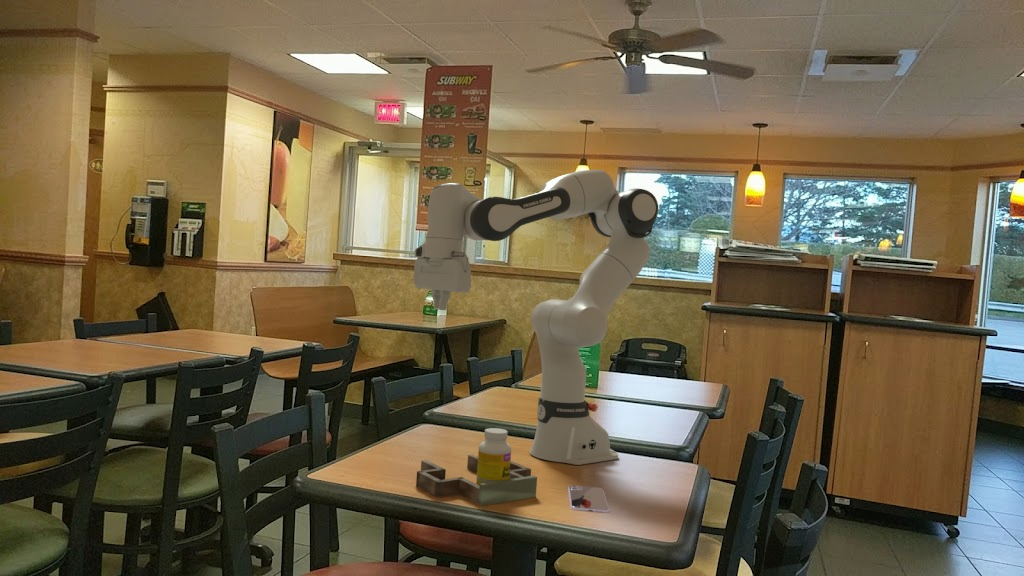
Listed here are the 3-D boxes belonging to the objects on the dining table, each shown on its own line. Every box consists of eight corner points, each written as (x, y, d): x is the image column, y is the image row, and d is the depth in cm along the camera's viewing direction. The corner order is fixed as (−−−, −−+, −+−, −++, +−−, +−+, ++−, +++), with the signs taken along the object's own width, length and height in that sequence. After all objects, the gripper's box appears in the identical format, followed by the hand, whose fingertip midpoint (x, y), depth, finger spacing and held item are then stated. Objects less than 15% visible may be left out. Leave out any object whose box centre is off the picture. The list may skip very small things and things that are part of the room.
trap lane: (400, 477, 153) (401, 458, 153) (489, 465, 168) (490, 448, 168) (459, 509, 135) (461, 488, 135) (554, 493, 149) (555, 474, 149)
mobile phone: (571, 506, 140) (567, 484, 155) (570, 511, 140) (567, 488, 155) (610, 509, 139) (603, 486, 154) (610, 514, 139) (603, 491, 154)
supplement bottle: (504, 500, 143) (508, 435, 142) (471, 496, 144) (476, 432, 144) (511, 490, 149) (515, 429, 149) (480, 486, 150) (484, 425, 150)
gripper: (479, 253, 164) (475, 313, 165) (433, 251, 181) (429, 306, 181) (456, 251, 161) (452, 313, 161) (411, 249, 177) (407, 306, 177)
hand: (439, 309), depth 171 cm, fingers closed
